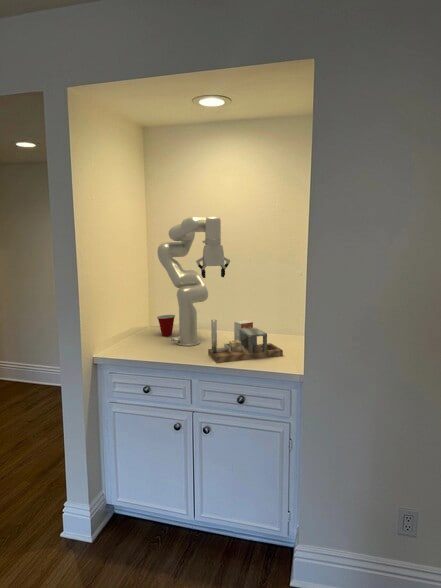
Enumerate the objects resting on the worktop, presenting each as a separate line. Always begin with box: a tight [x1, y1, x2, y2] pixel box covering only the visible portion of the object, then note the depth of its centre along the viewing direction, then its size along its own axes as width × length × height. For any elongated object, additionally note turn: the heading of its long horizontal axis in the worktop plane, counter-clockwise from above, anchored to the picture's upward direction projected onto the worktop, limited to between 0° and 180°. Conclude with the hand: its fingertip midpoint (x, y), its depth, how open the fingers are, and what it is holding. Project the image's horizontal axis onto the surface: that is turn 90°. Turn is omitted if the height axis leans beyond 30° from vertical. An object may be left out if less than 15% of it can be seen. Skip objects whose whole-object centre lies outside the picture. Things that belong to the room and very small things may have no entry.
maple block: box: [228, 340, 241, 352], centre depth 209 cm, size 4×4×4 cm
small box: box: [233, 319, 254, 341], centre depth 229 cm, size 8×6×13 cm
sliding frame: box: [210, 319, 244, 353], centre depth 207 cm, size 15×7×16 cm, turn 108°
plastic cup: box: [156, 314, 176, 337], centre depth 253 cm, size 11×11×12 cm
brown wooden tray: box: [207, 327, 284, 364], centre depth 210 cm, size 34×14×12 cm, turn 108°
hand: (213, 277), depth 211 cm, fingers open, 9 cm apart
